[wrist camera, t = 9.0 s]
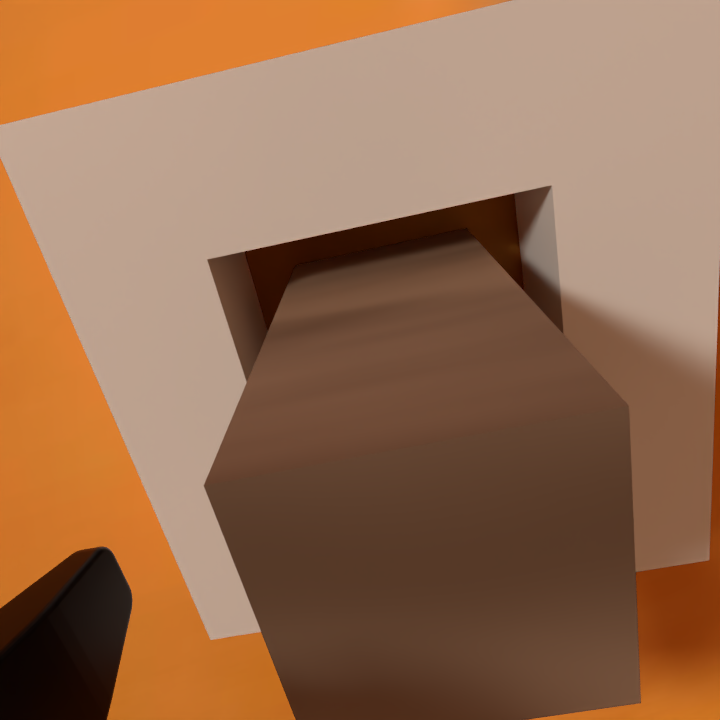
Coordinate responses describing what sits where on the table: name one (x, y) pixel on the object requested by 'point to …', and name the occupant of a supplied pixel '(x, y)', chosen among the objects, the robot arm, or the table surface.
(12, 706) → the robot arm
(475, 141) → the well block
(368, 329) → the walnut post
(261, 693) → the table surface
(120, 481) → the table surface
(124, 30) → the table surface
